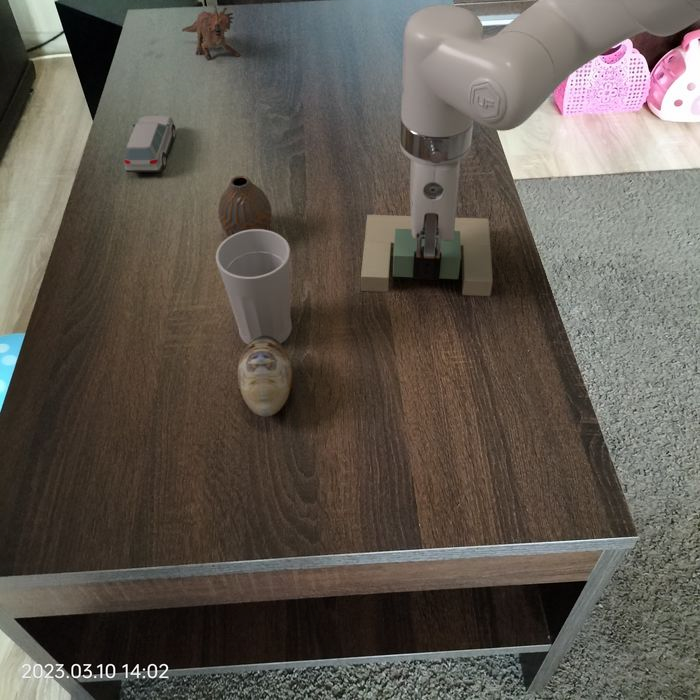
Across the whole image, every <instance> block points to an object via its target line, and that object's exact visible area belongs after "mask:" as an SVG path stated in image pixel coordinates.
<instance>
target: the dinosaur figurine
mask: <svg viewBox="0 0 700 700" xmlns="http://www.w3.org/2000/svg"><path fill="white" fill-rule="evenodd" d="M217 9H218V8H217V6H216V5H213V12H212V11H208V12H207V11H202V12H201V13H199V14H198V16H197V19H196V20H195V21H194V23H192V25H189V26H186V27H183V28H182V29H181V32H187V33H196V34H197V37H196V38H197V46H196V51H195V52H194V53H195V55H199V56H201V55H202V54H203V55H204V54H205V55H204V57H205V59H206V61H211V60H213V59H214V57H213V56H212V55H211V54H210V49H208V48H209V47H210V48H211V49H212V48H214V49H215V48H217V49H218V48H221V47H223V49H225V50H226V51H229V52H230V53H232V54H233V56H234V57H239V56H241V52H239V51H237V50H236V49H235V48H234V47H232V46H231V45H229V44H228V43H227V42H226V37H225V33H228V31H230V29H231V25H232V24H234V22H233V20H234V19H235V18H234V17H233V15H234V13H233V12H228V13H226V10H228V7H224V8H222V10H221V11H219V12H218V10H217Z"/></svg>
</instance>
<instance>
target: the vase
mask: <svg viewBox="0 0 700 700" xmlns="http://www.w3.org/2000/svg"><path fill="white" fill-rule="evenodd" d="M218 218H219V222H220V226H221V228H222V229H223V231H224V233H225V234H226V235H227V237H230V236H231V235H233V234H236V233H238V232H241V231H245V230H251V229H263V230H269V231H270V228H271V225H272V222H273V221H272V219H273V213H272V207H271V203H270V201H269V198H268V196H267V195H266V193H265V192H264V191H263V190H262V189H261V188H260V187H259V186H257V185H256V184H255V183H253V182H252V181H251V180H250V178H249V177H248V176H245V175H237V176H234V177H232V179H231V180H230V182H229V185H228V187H226V189H225V191H224V192H223V193H222V195H221V197H220V200H219V204H218Z"/></svg>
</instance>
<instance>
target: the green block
mask: <svg viewBox="0 0 700 700" xmlns="http://www.w3.org/2000/svg"><path fill="white" fill-rule="evenodd" d="M436 231H438V230H436ZM422 246H424V239H422V243H421V248H422ZM435 247H436V240H435ZM414 251H417V240H416V239H414V238H413V236H412V229H395V238H394V253H393V257H392V277H395V278H413V265H414ZM440 252H442V256H441V266H440V276H439V279H446V280H459V275H460V268H461V261H462V260H461V247H460V231H454V238H453V239H452V240H451V241H444V240H443V239H442V237H441V247H440Z"/></svg>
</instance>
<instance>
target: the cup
mask: <svg viewBox="0 0 700 700" xmlns="http://www.w3.org/2000/svg"><path fill="white" fill-rule="evenodd" d="M215 261H216V265H217V268H218V270H219V271H218V272H219V273H220V277H221V279H222V282H223V285H224V288H225V291H226V294H227V298H228V301H229V304H230V307H231V310H232V313H233V315H234V319H235V322H236V325H237V329H238V333H239V337H240V339H241V340H242V342H243V343H245V344H246V345H248V344H249V343H250V342H252V341H253V340H254V339H256V338H257V337H259V336H262V335H268V336H270V337H272V338H274V339H276V340H277V341H278V342H279V343H280V344H281V345H282V343H284V342H285V341H287V339H288V338H289V337H290V335H291V333H292V330H293V329H292V328H293V326H292V317H291V286H290V285H291V283H290V282H291V281H290V279H291V278H290V277H291V248H290V244H289V243H288V241H287V240H286V239H285V238H284V237H283V236H282V235H281V234H279V233H277V232H275V231H272V230H270V229H269V230H263V229H251V230H245V231H241V232H238V233H236V234H233V235H231V236H230V237H229V236H227V238H225V239H224V240H223V241H222V242H221V243H220V244H219V246H218V247H217V249H216V252H215Z"/></svg>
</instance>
